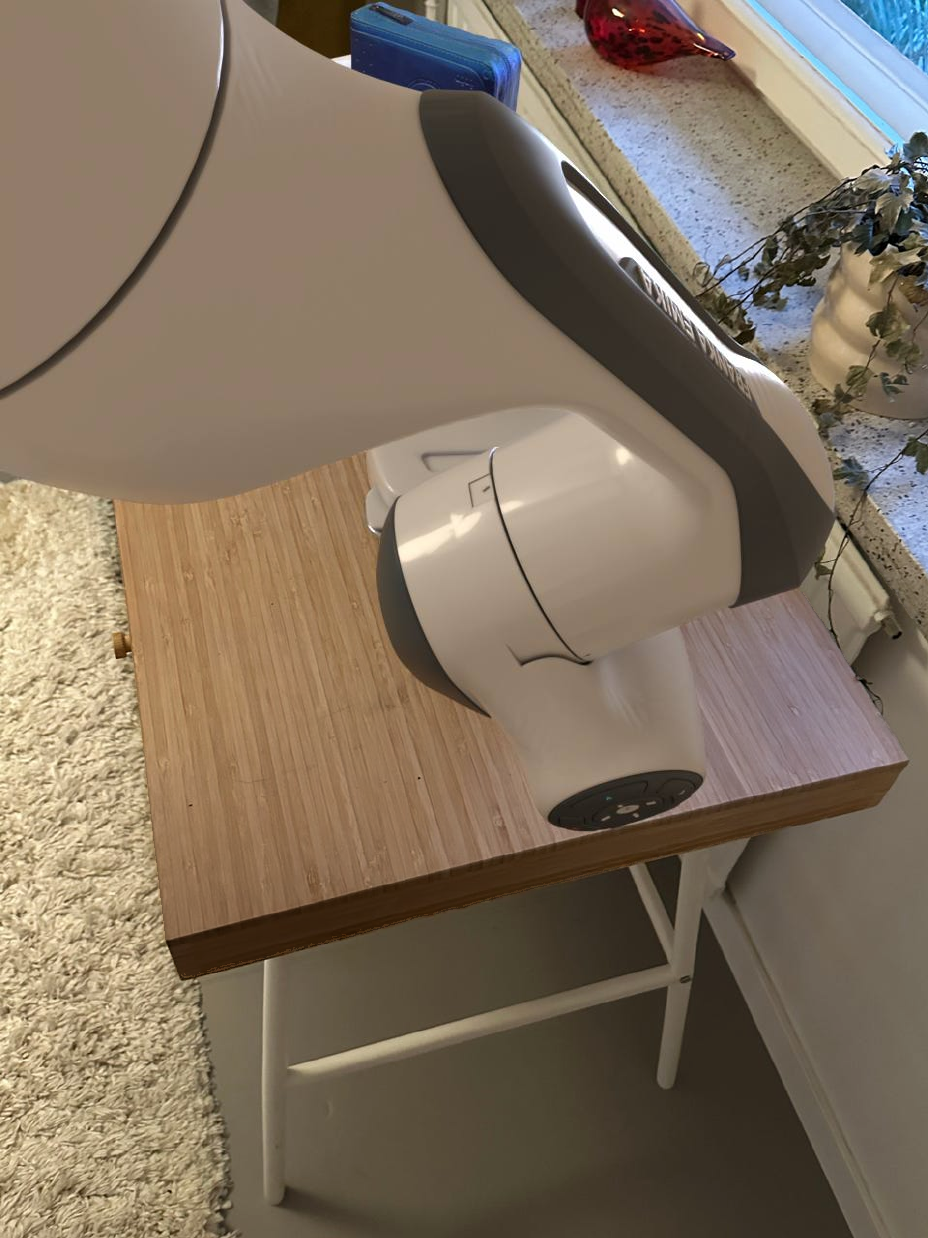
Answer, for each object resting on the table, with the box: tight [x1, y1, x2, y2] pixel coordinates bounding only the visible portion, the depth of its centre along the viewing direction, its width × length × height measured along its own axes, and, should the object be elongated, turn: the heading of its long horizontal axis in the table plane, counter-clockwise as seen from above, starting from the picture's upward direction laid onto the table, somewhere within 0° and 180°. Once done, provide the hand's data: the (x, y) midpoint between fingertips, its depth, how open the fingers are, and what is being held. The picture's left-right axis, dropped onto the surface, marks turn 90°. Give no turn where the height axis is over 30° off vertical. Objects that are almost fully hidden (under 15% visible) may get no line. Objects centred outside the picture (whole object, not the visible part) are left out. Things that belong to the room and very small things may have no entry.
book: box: [349, 1, 523, 113], centre depth 85 cm, size 14×5×20 cm, turn 60°
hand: (525, 373), depth 62 cm, fingers closed on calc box, 5 cm apart
